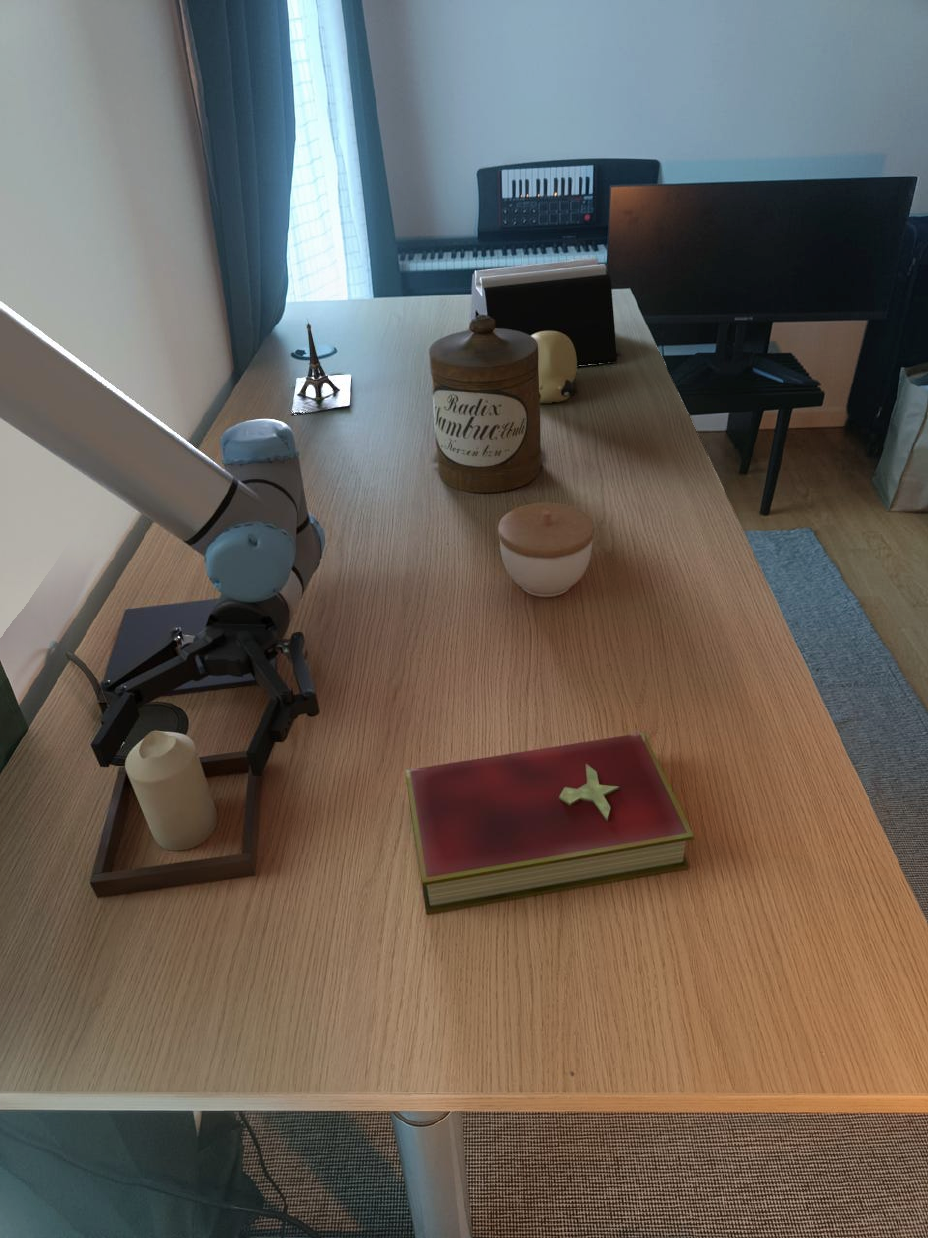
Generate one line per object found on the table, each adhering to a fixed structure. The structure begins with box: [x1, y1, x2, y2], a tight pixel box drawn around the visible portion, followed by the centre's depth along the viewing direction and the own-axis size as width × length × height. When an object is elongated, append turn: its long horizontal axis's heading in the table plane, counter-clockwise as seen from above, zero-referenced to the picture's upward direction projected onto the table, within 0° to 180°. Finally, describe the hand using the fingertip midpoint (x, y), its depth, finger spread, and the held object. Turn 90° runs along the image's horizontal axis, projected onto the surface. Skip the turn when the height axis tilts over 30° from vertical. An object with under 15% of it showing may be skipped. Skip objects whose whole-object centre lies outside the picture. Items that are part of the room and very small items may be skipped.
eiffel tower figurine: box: [291, 317, 352, 414], centre depth 148 cm, size 15×10×13 cm
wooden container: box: [428, 315, 542, 494], centre depth 119 cm, size 15×15×22 cm
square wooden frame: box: [89, 750, 264, 899], centre depth 75 cm, size 13×13×2 cm
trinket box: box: [497, 501, 595, 598], centre depth 99 cm, size 11×11×9 cm
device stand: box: [470, 257, 618, 366], centre depth 159 cm, size 22×22×15 cm
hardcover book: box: [404, 732, 695, 915], centre depth 71 cm, size 12×21×4 cm, turn 99°
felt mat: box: [103, 597, 278, 698], centre depth 96 cm, size 18×16×1 cm
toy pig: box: [531, 331, 578, 404], centre depth 144 cm, size 10×12×11 cm
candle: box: [124, 730, 219, 852], centre depth 72 cm, size 6×6×10 cm
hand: (175, 760), depth 73 cm, fingers open, 13 cm apart
